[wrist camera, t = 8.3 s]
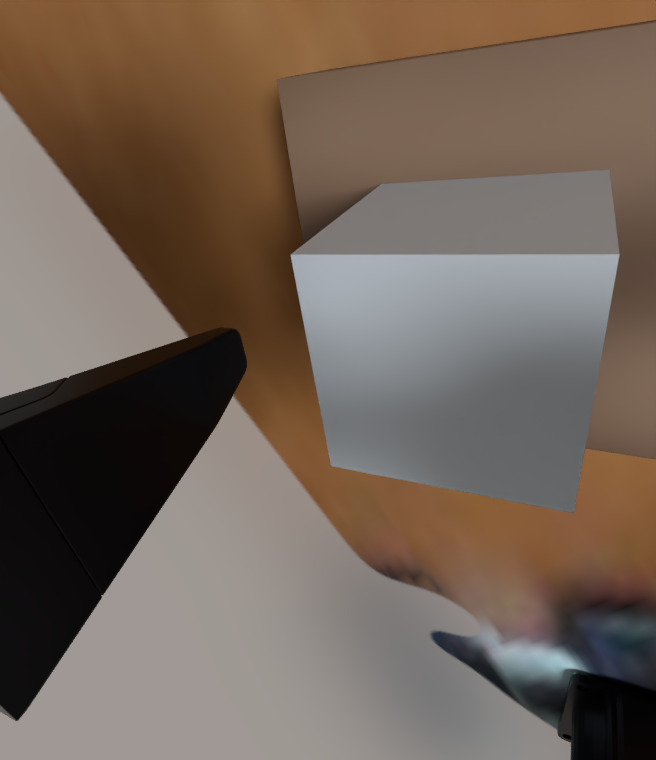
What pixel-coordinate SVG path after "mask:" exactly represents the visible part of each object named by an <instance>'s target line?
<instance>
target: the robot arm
mask: <svg viewBox="0 0 656 760" xmlns="http://www.w3.org/2000/svg"><path fill="white" fill-rule="evenodd" d="M246 368H247V359H246V355H245V352H244V348H243V344H242V340H241V336H240V334H239V332H238V331H237V330H236V329H233V328H223V327H220V328H216V329H213V330H210V331H207V332H204V333H201V334H198V335H195V336H192V337H189V338H186V339H182V340H180V341H177V342H173V343H170V344H167V345H164V346H161V347H158V348H155V349H152V350H149V351H146V352H143V353H140V354H137V355H134V356H130V357H127V358H124V359H121V360H118V361H115V362H112V363H109V364H106V365H103V366H100V367H97V368H94V369H91V370H88V371H84V372H82V373H78V374H75V375H72V376H70V377H69V378H63V379H60V380H57V381H54V382H51V383H47V384H44V385H42V386H38V387H35V388H32V389H28V390H25V391H22V392H19V393H15V394H12V395H9V396H5V397H2V398H0V711H1V712H2V713H4V714H5V715H7V716H8V717H10V718H12V719H14V720H15V721H18V720H19V719H20V717H21V716H22V715H23V714H24V713H25V711H26V710H27V709H28V707H29V706H30V704H31V703H32V701H33V700H34V698H35V697H36V695H37V694H38V692H39V691H40V690H41V688H42V687H43V685H44V683H45V682H46V681H47V679H48V678H49V676H50V674H51V673H52V672H53V670H54V669H55V667H56V666H57V664H58V663H59V661H60V660H61V658H62V657H63V655H64V653H65V652H66V651H67V649H68V648H69V646H70V644H71V643H72V642H73V640H74V639H75V637H76V636H77V634H78V633H79V631H80V630H81V628H82V627H83V625H84V624H85V622H86V621H87V619H88V618H89V616H90V615H91V613H92V612H93V610H94V608H95V607H96V606H97V604H98V603H99V601H100V600H101V598H102V596H101V595H103V594H104V593H105V592H106V590H107V589H108V587H109V585H110V584H111V583H112V581H113V579H114V578H115V577H116V575H117V573H118V572H119V571H120V569H121V568H122V566H123V565H124V563H125V562H126V560H127V558H128V557H129V556H130V554H131V553H132V551H133V550H134V548H135V547H136V545H137V544H138V542H139V540H140V539H141V538H142V536H143V535H144V533H145V532H146V530H147V529H148V527H149V526H150V524H151V523H152V521H153V520H154V518H155V517H156V515H157V514H158V512H159V511H160V509H161V508H162V506H163V505H164V503H165V502H166V500H167V499H168V498H169V496H170V495H171V493H172V492H173V490H174V489H175V487H176V486H177V484H178V483H179V481H180V480H181V478H182V477H183V475H184V474H185V472H186V471H187V469H188V468H189V466H190V464H191V463H192V462H193V460H194V458H195V457H196V456H197V454H198V453H199V451H200V450H201V448H202V447H203V445H204V444H205V442H206V441H207V439H208V437H209V436H210V435H211V433H212V432H213V430H214V429H215V427H216V425H217V424H218V422H219V420H220V419H221V417H222V415H223V413H224V411H225V409H226V408H227V406H228V404H229V402H230V400H231V398H232V396H233V394H234V392H235V391H236V389H237V387H238V385H239V383H240V381H241V379H242V377H243V375H244V374H245V371H246ZM558 736H559V737H561V738H562V739H564V740H566V741H568V742H571V760H656V698H653V697H650V696H647V695H644V694H641V693H638V692H635V691H632V690H629V689H625V688H622V687H619V686H616V685H613V684H610V683H607V682H604V681H601V680H598V679H594V678H591V677H588V676H585V675H581V674H574V675H572V676H571V679H570V683H569V687H568V690H567V694H566V698H565V701H564V705H563V709H562V712H561V716H560V720H559V723H558Z"/></svg>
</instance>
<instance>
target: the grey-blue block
mask: <svg viewBox="0 0 656 760" xmlns="http://www.w3.org/2000/svg"><path fill="white" fill-rule="evenodd" d="M291 260H292V265H293V270H294V276H295V281H296V286H297V291H298V296H299V302H300V307H301V312H302V317H303V322H304V328H305V333H306V338H307V343H308V349H309V354H310V359H311V364H312V369H313V375H314V380H315V385H316V390H317V395H318V401H319V406H320V411H321V416H322V421H323V427H324V432H325V437H326V442H327V447H328V453H329V458H330V463H331V466H333V467H338V468H343V469H349V470H354V471H359V472H364V473H369V474H374V475H379V476H384V477H389V478H395V479H400V480H405V481H410V482H415V483H420V484H425V485H430V486H436V487H441V488H446V489H451V490H456V491H461V492H466V493H471V494H477V495H482V496H487V497H492V498H497V499H502V500H507V501H512V502H518V503H523V504H528V505H533V506H538V507H543V508H548V509H553V510H559V511H564V512H569V513H574V508H575V502H576V497H577V491H578V485H579V480H580V474H581V468H582V463H583V457H584V452H585V446H586V440H587V435H588V429H589V423H590V418H591V412H592V407H593V401H594V395H595V390H596V384H597V378H598V373H599V367H600V361H601V356H602V350H603V345H604V339H605V333H606V328H607V322H608V316H609V311H610V305H611V299H612V294H613V288H614V283H615V277H616V271H617V266H618V260H619V246H618V238H617V229H616V221H615V212H614V204H613V196H612V187H611V179H610V170H597V171H582V172H566V173H550V174H534V175H518V176H502V177H486V178H470V179H454V180H438V181H422V182H406V183H390V184H381V185H380V186H378V187H377V188H376V189H374V190H373V191H372V192H371V193H369V194H368V195H367V196H365V197H364V198H363V199H361V200H360V201H359V202H358V203H356V204H355V205H354V206H352V207H351V208H350V209H349V210H347V211H346V212H345V213H343V214H342V215H341V216H340V217H338V218H337V219H336V220H334V221H333V222H332V223H331V224H329V225H328V226H327V227H325V228H324V229H323V230H322V231H320V232H319V233H318V234H316V235H315V236H314V237H312V238H311V239H310V240H309V241H307V242H306V243H305V244H303V245H302V246H301V247H300V248H298V249H297V250H296V251H294V252H293V253H292V254H291Z"/></svg>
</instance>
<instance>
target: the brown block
mask: <svg viewBox="0 0 656 760" xmlns="http://www.w3.org/2000/svg"><path fill="white" fill-rule="evenodd" d="M277 85H278V91H279V97H280V103H281V109H282V116H283V122H284V128H285V134H286V140H287V147H288V153H289V159H290V165H291V171H292V178H293V184H294V190H295V196H296V202H297V208H298V215H299V221H300V227H301V233H302V239H303V244H305V243H306V242H307V241H309V240H310V239H311V238H312V237H314V236H315V235H316V234H318V233H319V232H320V231H322V230H323V229H324V228H325V227H327V226H328V225H329V224H331V223H332V222H333V221H334V220H336V219H337V218H338V217H340V216H341V215H342V214H343V213H345V212H346V211H347V210H349V209H350V208H351V207H352V206H354V205H355V204H356V203H358V202H359V201H360V200H361V199H363V198H364V197H365V196H367V195H368V194H369V193H371V192H372V191H373V190H374V189H376V188H377V187H378V186H380V185H381V184H390V183H406V182H422V181H438V180H454V179H470V178H486V177H502V176H518V175H534V174H550V173H566V172H582V171H597V170H610V179H611V187H612V196H613V204H614V212H615V221H616V229H617V238H618V246H619V260H618V266H617V271H616V277H615V283H614V288H613V294H612V299H611V305H610V311H609V316H608V322H607V328H606V333H605V339H604V345H603V350H602V356H601V361H600V367H599V373H598V378H597V384H596V390H595V395H594V401H593V407H592V412H591V418H590V423H589V429H588V435H587V440H586V446H585V448H586V449H592V450H599V451H605V452H611V453H618V454H624V455H631V456H637V457H644V458H650V459H656V20H654V21H647V22H640V23H634V24H627V25H621V26H614V27H607V28H601V29H594V30H588V31H581V32H574V33H568V34H561V35H555V36H548V37H541V38H535V39H528V40H522V41H515V42H508V43H502V44H495V45H489V46H482V47H475V48H469V49H462V50H455V51H449V52H442V53H436V54H429V55H422V56H416V57H409V58H403V59H396V60H389V61H383V62H376V63H370V64H363V65H356V66H350V67H343V68H337V69H330V70H324V71H318V72H313V73H308V74H302V75H297V76H291V77H286V78H281V79H277Z"/></svg>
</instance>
